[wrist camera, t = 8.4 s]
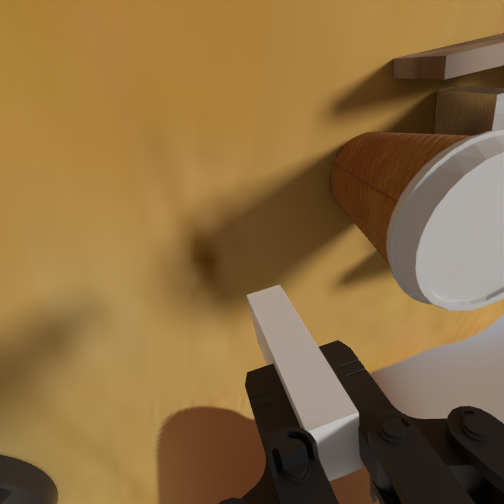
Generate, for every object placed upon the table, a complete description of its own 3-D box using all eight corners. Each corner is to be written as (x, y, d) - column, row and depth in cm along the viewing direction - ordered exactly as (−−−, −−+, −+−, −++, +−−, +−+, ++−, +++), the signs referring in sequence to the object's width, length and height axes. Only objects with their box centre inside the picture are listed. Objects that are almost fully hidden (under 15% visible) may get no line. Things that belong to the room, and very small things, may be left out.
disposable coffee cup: (442, 167, 28) (605, 223, 18) (356, 250, 30) (458, 345, 20) (381, 76, 24) (552, 79, 13) (284, 180, 26) (368, 254, 15)
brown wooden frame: (390, 253, 31) (430, 284, 26) (393, 58, 23) (450, 55, 19) (512, 217, 32) (570, 241, 28) (553, 22, 25) (642, 10, 20)
